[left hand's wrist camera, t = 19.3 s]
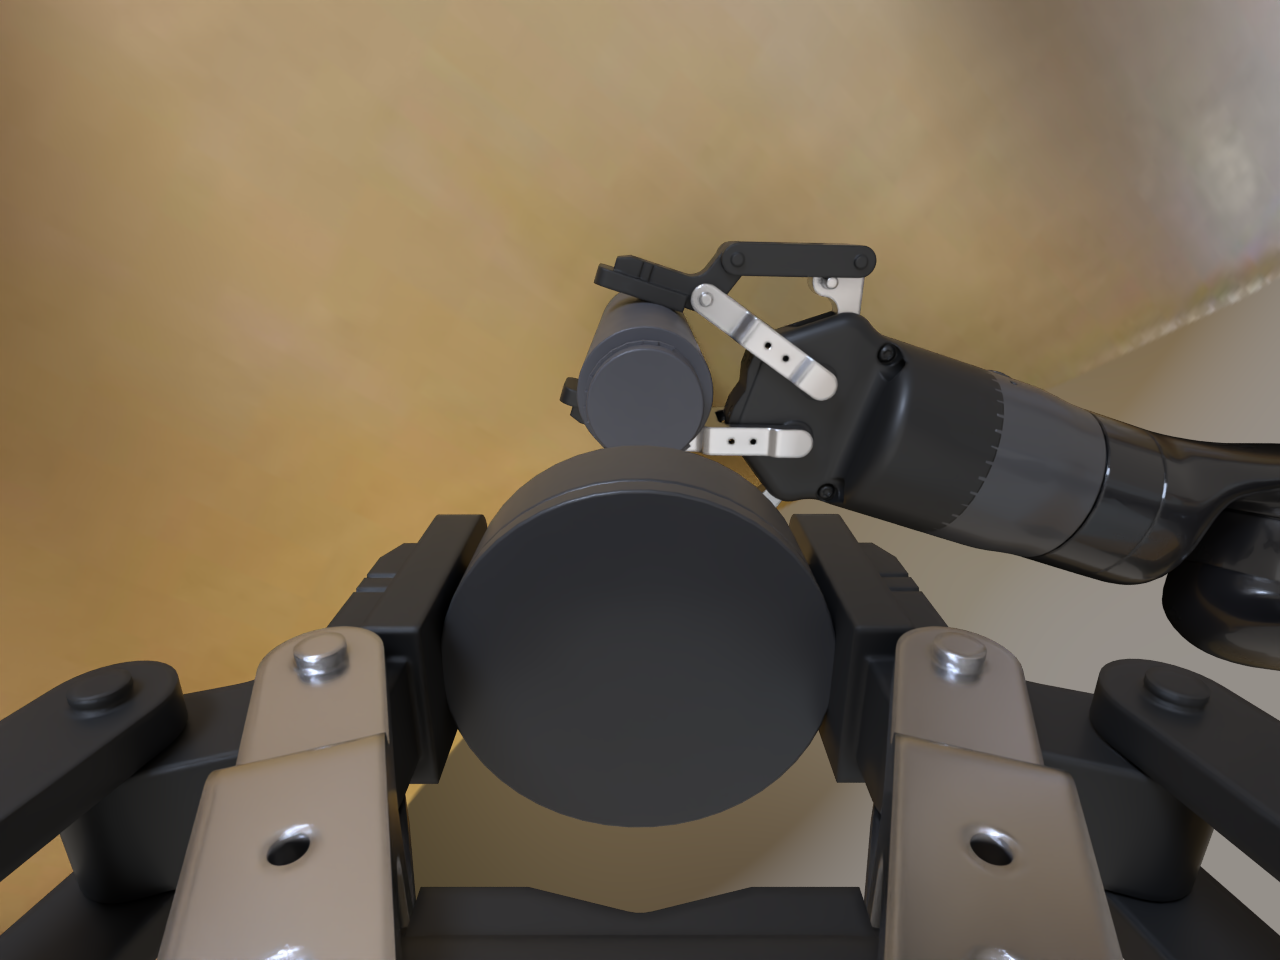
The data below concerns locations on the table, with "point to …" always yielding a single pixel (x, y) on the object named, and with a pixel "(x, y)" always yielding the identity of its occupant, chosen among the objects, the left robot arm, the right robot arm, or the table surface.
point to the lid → (638, 640)
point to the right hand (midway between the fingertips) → (581, 333)
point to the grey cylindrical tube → (644, 378)
